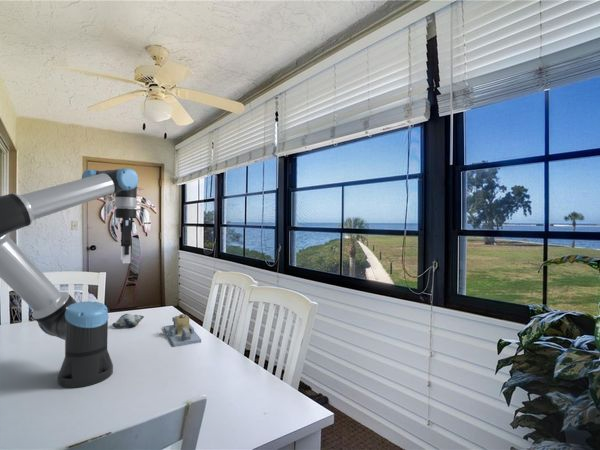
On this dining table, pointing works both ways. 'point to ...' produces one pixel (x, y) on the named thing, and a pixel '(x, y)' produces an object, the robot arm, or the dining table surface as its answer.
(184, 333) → the shaft bench
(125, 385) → the dining table surface
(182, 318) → the block
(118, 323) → the seashell
